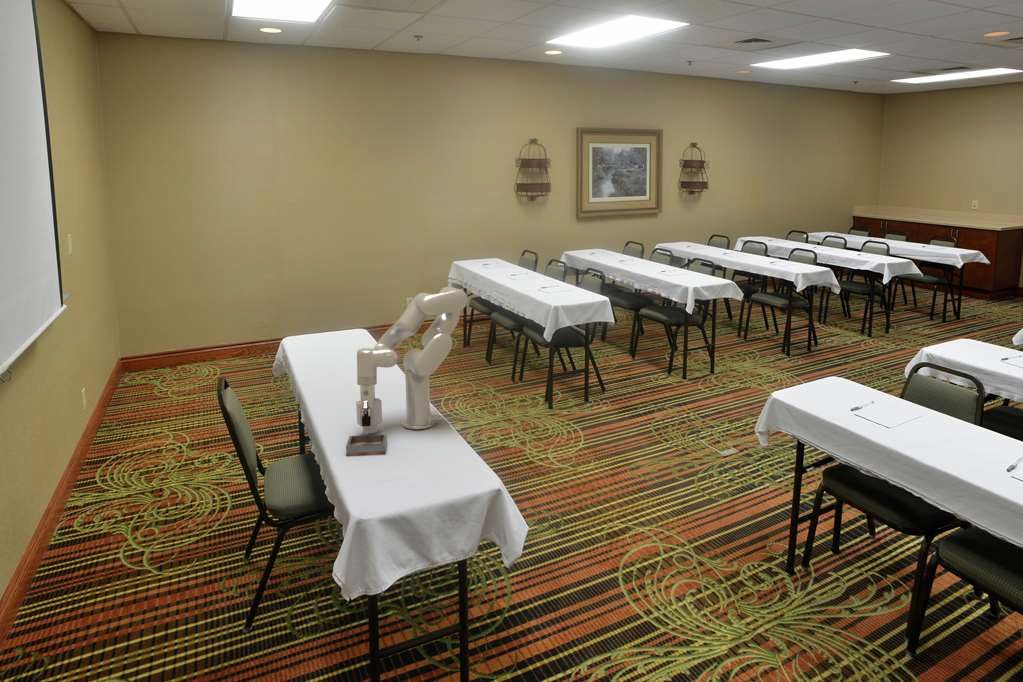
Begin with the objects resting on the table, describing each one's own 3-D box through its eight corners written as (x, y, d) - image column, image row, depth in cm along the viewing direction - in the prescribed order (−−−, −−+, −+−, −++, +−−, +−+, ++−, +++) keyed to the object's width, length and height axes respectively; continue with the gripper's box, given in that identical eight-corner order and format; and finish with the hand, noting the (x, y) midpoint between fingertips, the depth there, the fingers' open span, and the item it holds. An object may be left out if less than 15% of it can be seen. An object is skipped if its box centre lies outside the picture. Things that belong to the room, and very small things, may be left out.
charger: (383, 436, 263) (382, 400, 260) (361, 441, 258) (359, 404, 255) (379, 433, 266) (377, 397, 264) (357, 437, 262) (355, 401, 259)
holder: (387, 443, 255) (386, 434, 254) (385, 454, 243) (384, 444, 243) (350, 445, 253) (349, 435, 253) (346, 456, 242) (345, 446, 241)
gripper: (375, 385, 249) (375, 428, 252) (378, 375, 266) (378, 415, 269) (354, 385, 249) (355, 429, 251) (359, 375, 265) (359, 416, 268)
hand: (367, 422), depth 260 cm, fingers open, 9 cm apart
